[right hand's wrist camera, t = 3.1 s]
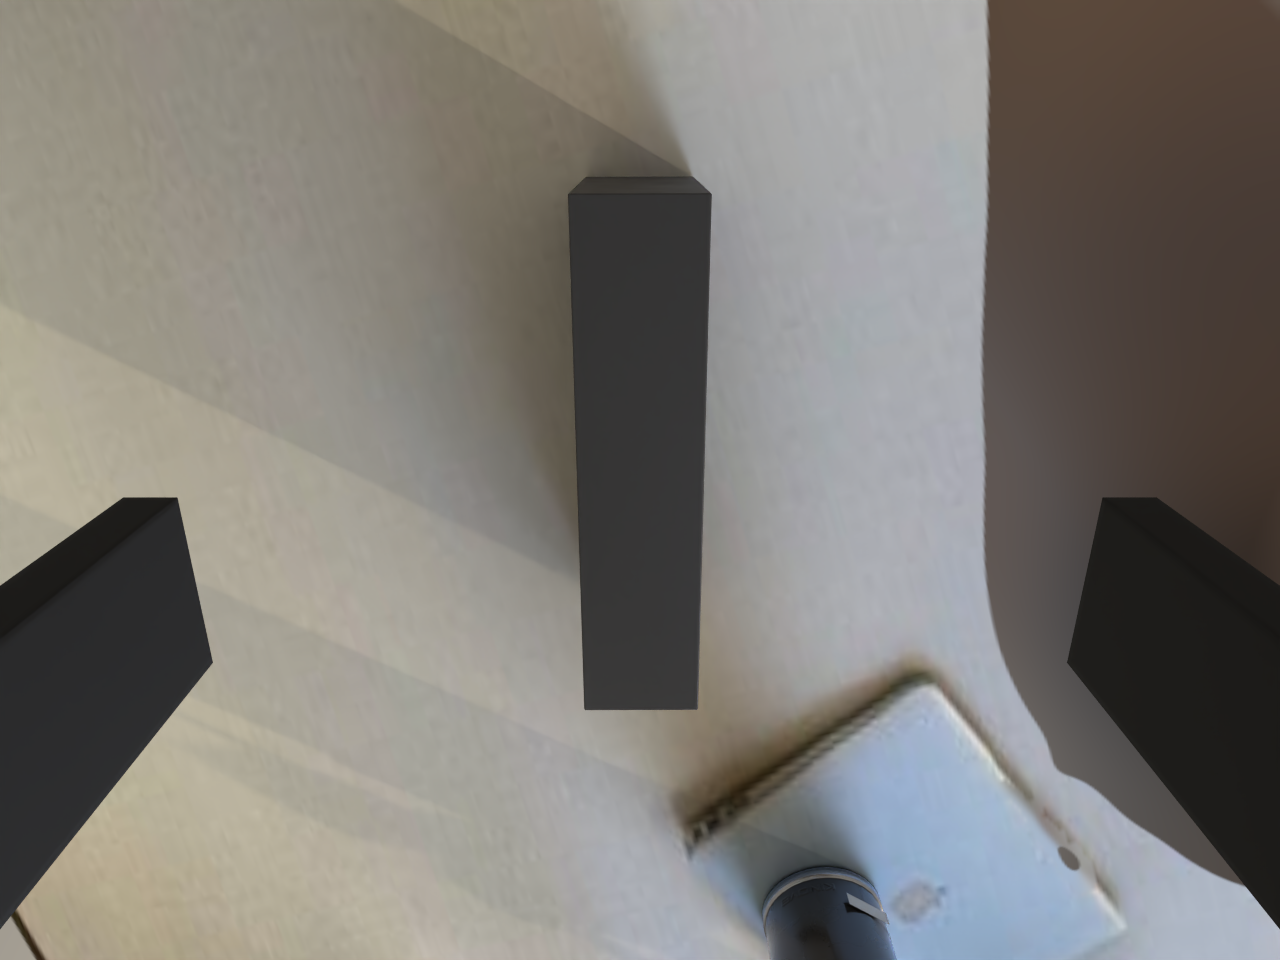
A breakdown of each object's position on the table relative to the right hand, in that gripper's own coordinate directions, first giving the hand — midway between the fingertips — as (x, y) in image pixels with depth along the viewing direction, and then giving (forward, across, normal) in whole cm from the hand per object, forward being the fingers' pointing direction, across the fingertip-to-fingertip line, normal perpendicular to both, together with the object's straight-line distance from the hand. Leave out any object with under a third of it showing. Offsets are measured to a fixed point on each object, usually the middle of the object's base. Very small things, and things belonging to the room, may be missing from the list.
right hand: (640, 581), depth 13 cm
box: (+41, 0, -10) cm, 42 cm away
